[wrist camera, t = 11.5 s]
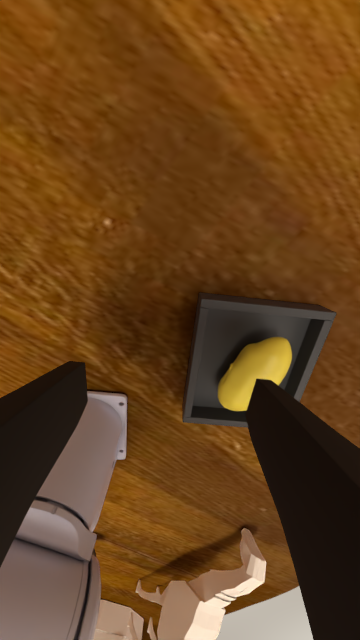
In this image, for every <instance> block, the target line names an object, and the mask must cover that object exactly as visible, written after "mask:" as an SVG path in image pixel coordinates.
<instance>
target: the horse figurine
mask: <svg viewBox="0 0 360 640" xmlns="http://www.w3.org/2000/svg"><path fill="white" fill-rule="evenodd" d="M241 535H242V539H241V543H240V552H241V558H242V562H243V566H242V567H241V568H239V569H236V570H227V571H219V570H210V572H207V573H204V574H201V575H199V577H198V578H196V579H194V580H191V581H189V582H186V581H171V582H170V583H169V585H168V586H167V588H166V589H165V591H164V592H163V594H162V595H160V590H159V587H158V586H157V590H156V593H147V592H145V591H144V590H142V588H141V580H139V581H138V584H137V588H136V593H139V596H141V597H142V598H144V599H147V600H149V601H152V602H156V603H158V604H160V605H163V606H162V611H161V615H160V620H159V625H158V630H157V634H158V640H216V638H217V636H218V634H219V631H220V627H221V623H222V619H223V616H224V613H225V611H226V610H225V609H224V608H223V607H225V606H227V605H229V604H230V603H231V602H230V601H232V600H235V599H236V597H238V596H241V595H246V594H249V593H250V592H251V591H252V590H254V589H255V588H257V587H258V586H260V585H261V584H263V583H264V580H265V570H266V561H265V559H264V557H263V556H262V554H261V552H260V550H259V549H258V547H257V545H256V543H255V541H254V538H253V536H252V534H251V532H250V530H248V529H246V528H243V529H242V531H241ZM127 627H129V629H130V633H131V635H132V638H133V640H138V638H137V635H136V632H135V628H134V624H133V612H132V611H131V613H130V617H129V621H128V625H127ZM147 632H148V633H149V634H150V638H151V640H157V639H156V636H155V633H154V630H153V625H152V618H151V617H150V621H149V626H148V630H147Z"/></svg>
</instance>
